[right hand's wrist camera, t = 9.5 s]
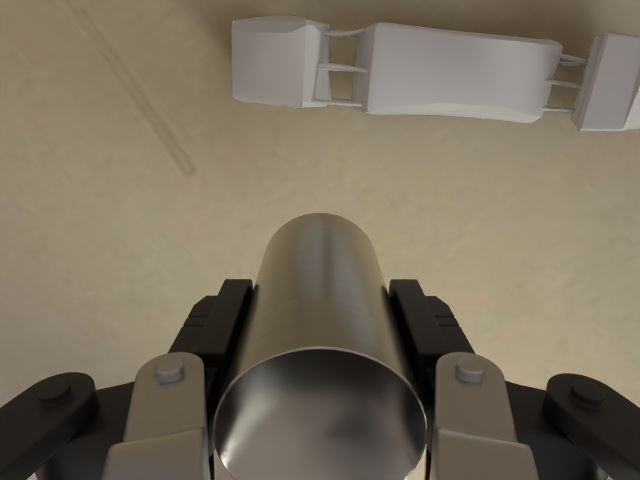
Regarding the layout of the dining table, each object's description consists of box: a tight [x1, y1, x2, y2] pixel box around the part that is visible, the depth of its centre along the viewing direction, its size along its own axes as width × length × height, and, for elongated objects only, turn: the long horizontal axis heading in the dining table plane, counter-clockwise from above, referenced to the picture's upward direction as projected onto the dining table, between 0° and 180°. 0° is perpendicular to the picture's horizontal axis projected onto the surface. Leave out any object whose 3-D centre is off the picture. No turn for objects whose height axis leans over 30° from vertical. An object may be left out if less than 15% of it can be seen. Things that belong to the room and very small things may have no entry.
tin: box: [213, 213, 428, 480], centre depth 11 cm, size 4×4×8 cm
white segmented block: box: [231, 15, 640, 131], centre depth 19 cm, size 20×4×7 cm, turn 86°
